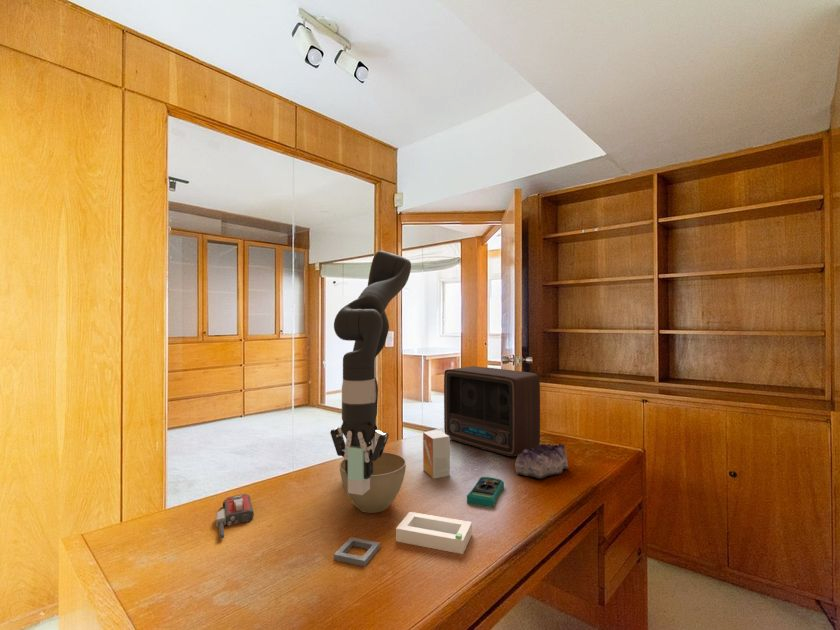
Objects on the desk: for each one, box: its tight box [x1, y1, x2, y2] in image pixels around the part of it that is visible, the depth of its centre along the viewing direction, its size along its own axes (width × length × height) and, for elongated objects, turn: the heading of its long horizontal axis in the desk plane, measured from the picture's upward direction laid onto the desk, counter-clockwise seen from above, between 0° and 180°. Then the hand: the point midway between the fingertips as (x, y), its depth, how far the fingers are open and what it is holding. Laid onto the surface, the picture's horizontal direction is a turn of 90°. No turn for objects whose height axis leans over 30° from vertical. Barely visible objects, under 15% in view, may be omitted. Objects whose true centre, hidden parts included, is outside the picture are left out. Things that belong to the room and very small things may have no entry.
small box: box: [422, 429, 451, 479], centre depth 140 cm, size 8×6×13 cm
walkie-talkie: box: [215, 493, 254, 539], centre depth 109 cm, size 9×4×20 cm
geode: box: [514, 442, 569, 479], centre depth 141 cm, size 20×12×10 cm, turn 124°
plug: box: [348, 445, 370, 495], centre depth 93 cm, size 4×4×10 cm
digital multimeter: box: [466, 476, 505, 508], centre depth 123 cm, size 8×15×3 cm, turn 157°
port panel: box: [395, 511, 473, 555], centre depth 100 cm, size 16×9×4 cm, turn 70°
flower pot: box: [339, 451, 407, 514], centre depth 116 cm, size 18×18×12 cm
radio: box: [443, 365, 541, 458], centre depth 169 cm, size 36×18×30 cm, turn 43°
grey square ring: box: [333, 536, 381, 567], centre depth 93 cm, size 7×7×1 cm
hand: (359, 476), depth 93 cm, fingers closed on plug, 3 cm apart
